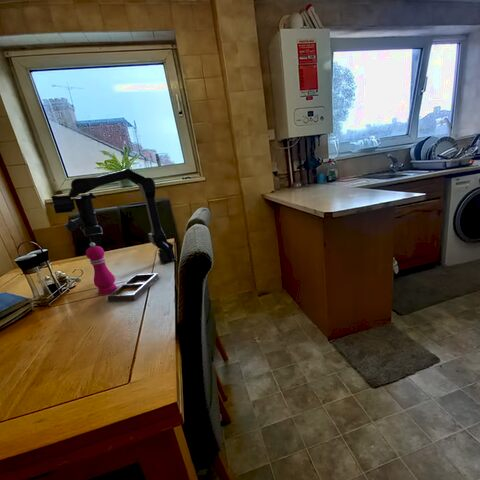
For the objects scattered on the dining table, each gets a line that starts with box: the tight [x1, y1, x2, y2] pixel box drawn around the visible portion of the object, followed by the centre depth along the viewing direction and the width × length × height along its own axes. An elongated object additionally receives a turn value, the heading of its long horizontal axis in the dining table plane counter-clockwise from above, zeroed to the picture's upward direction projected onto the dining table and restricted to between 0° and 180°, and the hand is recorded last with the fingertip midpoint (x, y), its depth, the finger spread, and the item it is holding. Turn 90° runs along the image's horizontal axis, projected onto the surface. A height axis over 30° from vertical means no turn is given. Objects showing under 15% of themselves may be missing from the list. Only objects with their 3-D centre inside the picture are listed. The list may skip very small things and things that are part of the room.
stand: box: [106, 272, 160, 303], centre depth 108 cm, size 10×19×2 cm, turn 175°
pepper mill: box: [85, 242, 118, 295], centre depth 106 cm, size 7×7×20 cm
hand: (95, 247), depth 117 cm, fingers open, 9 cm apart
